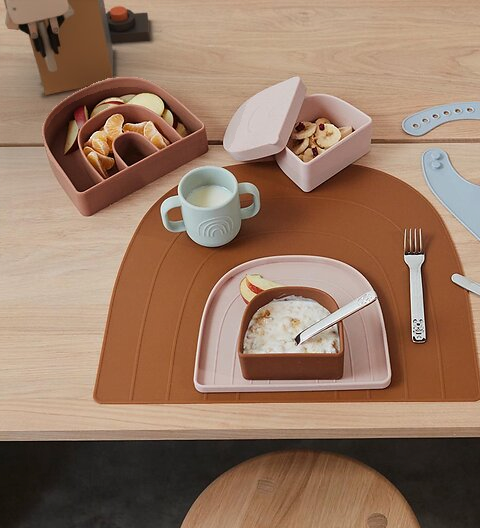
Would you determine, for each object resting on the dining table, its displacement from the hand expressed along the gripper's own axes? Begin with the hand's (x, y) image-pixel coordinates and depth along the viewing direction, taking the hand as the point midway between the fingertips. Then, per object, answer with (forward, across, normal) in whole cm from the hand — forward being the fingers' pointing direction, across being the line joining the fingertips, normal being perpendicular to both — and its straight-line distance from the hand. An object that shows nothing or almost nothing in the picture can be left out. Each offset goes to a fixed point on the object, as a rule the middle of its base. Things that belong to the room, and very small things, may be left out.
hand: (48, 51), depth 131 cm
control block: (+13, -20, -22) cm, 32 cm away
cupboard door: (+13, -5, -3) cm, 15 cm away
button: (+10, -20, -22) cm, 31 cm away
